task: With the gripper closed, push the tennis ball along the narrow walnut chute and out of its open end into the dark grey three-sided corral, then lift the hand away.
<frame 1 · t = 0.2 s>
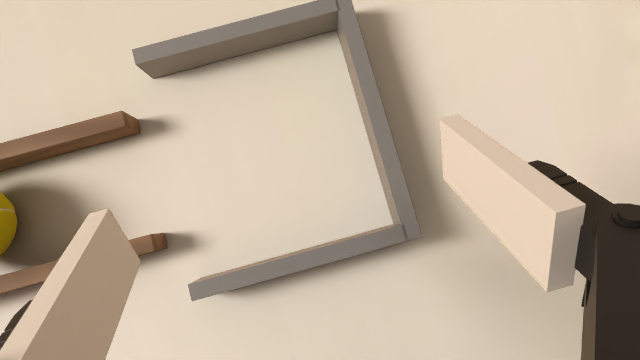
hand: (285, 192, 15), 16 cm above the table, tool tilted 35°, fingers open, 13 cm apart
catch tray: (272, 149, 32), on the table
chute: (30, 215, 31), on the table
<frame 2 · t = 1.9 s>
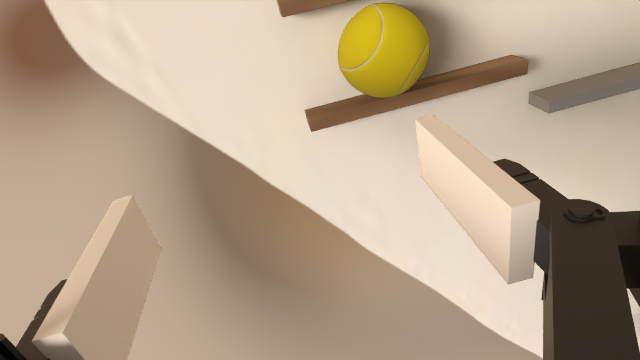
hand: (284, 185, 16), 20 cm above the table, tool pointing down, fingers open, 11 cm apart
tennis ball: (370, 44, 34), on the table
chute: (404, 35, 34), on the table
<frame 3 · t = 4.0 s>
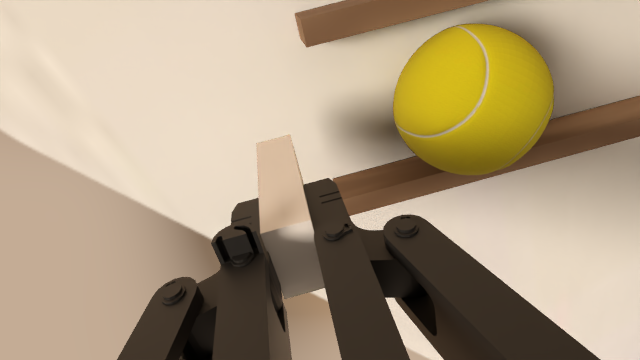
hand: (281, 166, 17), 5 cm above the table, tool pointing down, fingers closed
tennis ball: (436, 82, 22), on the table
chute: (488, 70, 22), on the table
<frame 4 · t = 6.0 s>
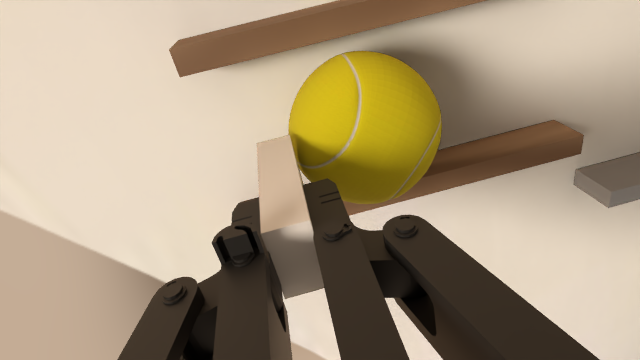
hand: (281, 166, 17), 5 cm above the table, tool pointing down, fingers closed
tennis ball: (345, 105, 22), on the table, touching gripper
chute: (391, 95, 22), on the table
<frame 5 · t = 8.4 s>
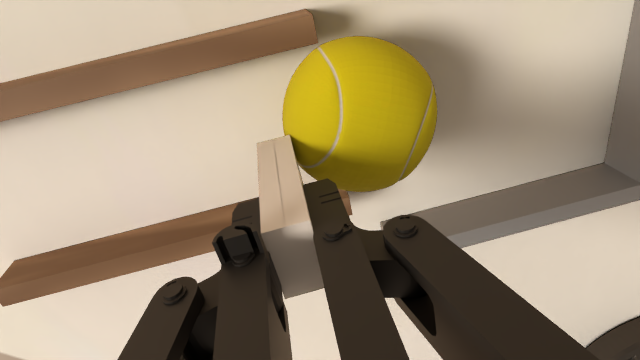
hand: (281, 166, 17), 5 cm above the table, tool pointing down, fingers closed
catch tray: (498, 68, 22), on the table
tennis ball: (341, 93, 21), on the table, touching gripper
chute: (150, 157, 21), on the table
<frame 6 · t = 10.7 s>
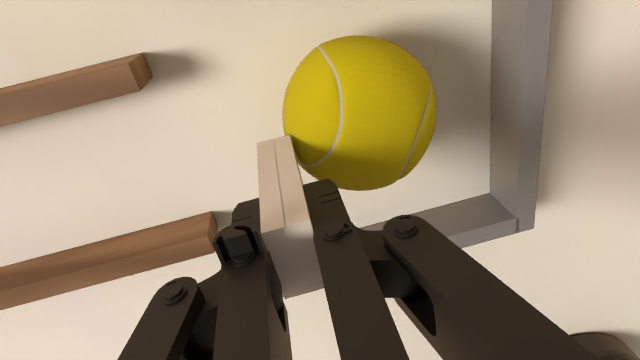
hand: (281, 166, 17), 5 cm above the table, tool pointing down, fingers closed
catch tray: (358, 105, 22), on the table
tennis ball: (341, 93, 21), on the table, touching gripper
chute: (5, 197, 21), on the table
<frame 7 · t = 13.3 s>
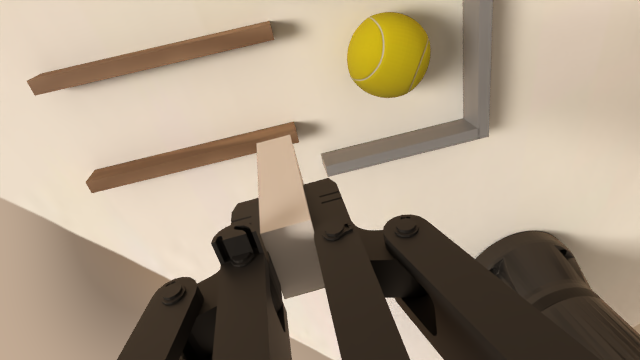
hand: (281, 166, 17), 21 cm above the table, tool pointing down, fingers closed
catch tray: (385, 56, 37), on the table
tennis ball: (375, 48, 37), on the table
chute: (179, 105, 36), on the table
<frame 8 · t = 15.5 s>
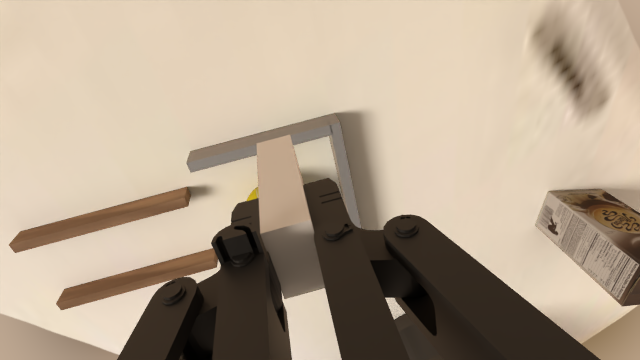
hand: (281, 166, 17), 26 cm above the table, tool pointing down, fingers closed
coffee box: (566, 206, 58), on the table
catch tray: (280, 201, 49), on the table
chute: (125, 243, 48), on the table
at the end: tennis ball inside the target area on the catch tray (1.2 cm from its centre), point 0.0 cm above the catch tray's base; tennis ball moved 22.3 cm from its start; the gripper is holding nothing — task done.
